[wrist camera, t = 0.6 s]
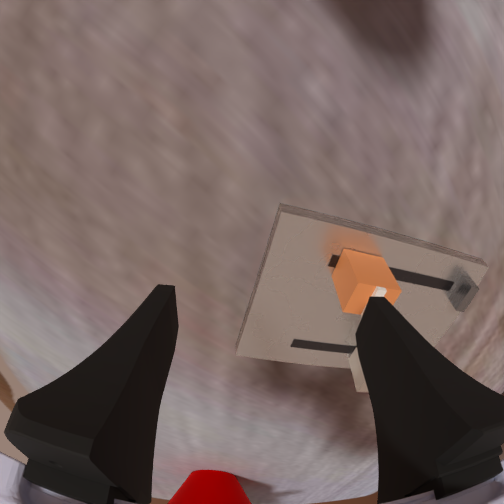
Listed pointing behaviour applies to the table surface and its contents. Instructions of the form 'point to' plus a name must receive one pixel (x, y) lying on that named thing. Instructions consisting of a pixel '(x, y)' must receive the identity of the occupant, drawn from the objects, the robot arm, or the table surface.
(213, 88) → the table surface
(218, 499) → the potted flower
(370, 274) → the fader orange
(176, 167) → the table surface
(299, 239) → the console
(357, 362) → the fader white
